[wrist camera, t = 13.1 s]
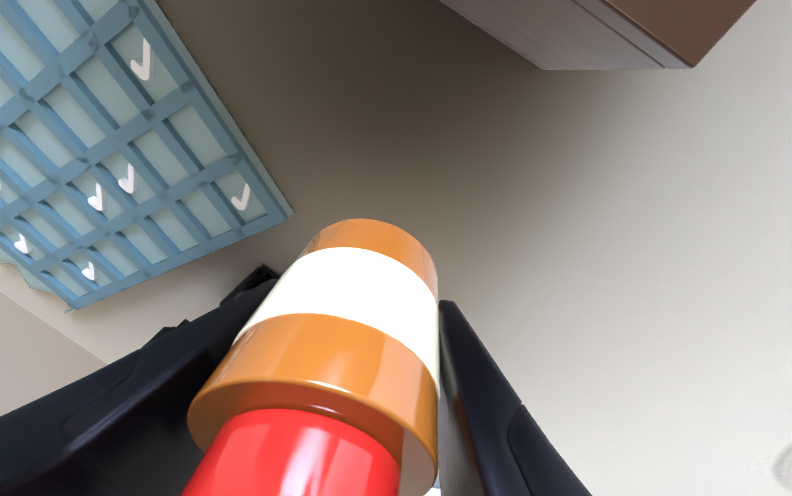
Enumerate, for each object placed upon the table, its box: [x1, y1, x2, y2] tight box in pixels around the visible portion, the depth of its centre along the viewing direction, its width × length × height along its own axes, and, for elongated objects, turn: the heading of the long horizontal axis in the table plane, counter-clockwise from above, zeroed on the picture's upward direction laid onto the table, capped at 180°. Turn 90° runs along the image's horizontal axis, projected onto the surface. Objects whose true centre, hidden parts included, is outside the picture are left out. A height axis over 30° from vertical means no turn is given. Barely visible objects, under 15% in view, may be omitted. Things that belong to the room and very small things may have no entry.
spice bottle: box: [179, 219, 441, 496], centre depth 7 cm, size 4×4×6 cm
